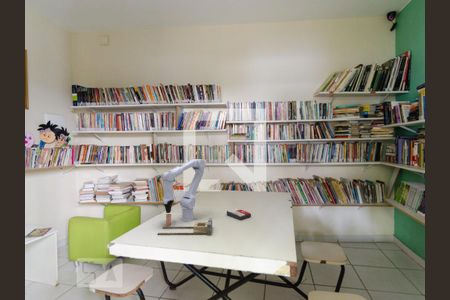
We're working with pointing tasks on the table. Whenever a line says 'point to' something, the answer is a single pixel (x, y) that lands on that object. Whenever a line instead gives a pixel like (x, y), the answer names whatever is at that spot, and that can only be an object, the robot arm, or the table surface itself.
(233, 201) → the table surface
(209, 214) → the table surface
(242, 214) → the hard drive
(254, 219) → the table surface
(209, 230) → the rail board
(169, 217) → the dowel
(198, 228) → the wooden square frame
